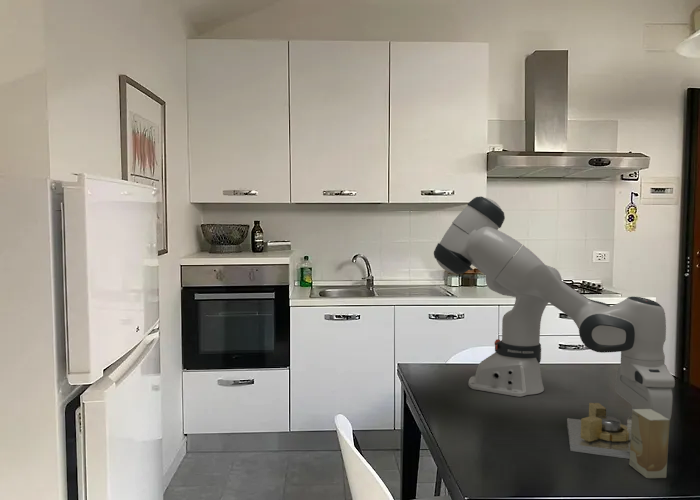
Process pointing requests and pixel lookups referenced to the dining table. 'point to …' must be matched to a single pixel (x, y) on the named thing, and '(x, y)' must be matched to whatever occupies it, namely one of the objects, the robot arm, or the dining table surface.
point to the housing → (600, 445)
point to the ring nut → (593, 426)
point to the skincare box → (649, 443)
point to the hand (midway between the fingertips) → (639, 426)
